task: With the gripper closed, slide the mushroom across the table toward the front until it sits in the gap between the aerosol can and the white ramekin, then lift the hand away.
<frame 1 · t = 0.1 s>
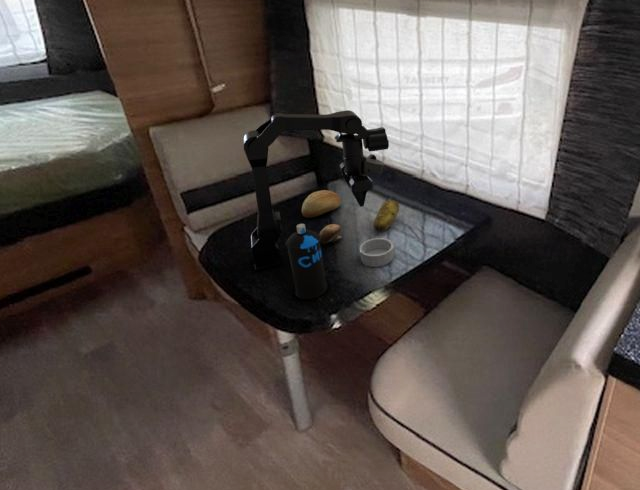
hand: (358, 200, 131), 15 cm above the table, tool pointing down, fingers open, 9 cm apart
aerosol can: (311, 290, 113), on the table
mushroom: (331, 241, 136), on the table
white ramekin: (377, 257, 128), on the table
potato: (386, 226, 146), on the table
bread roll: (323, 212, 154), on the table
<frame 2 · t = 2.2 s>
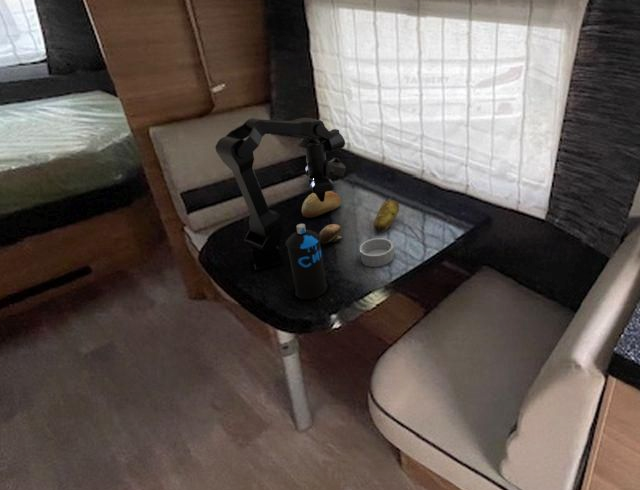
hand: (322, 201, 139), 11 cm above the table, tool pointing down, fingers closed
nothing on the table moved.
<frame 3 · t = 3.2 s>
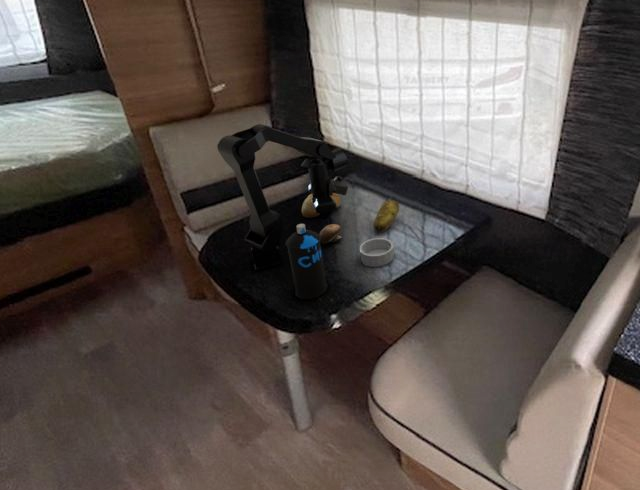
hand: (325, 219, 141), 4 cm above the table, tool pointing down, fingers closed
nothing on the table moved.
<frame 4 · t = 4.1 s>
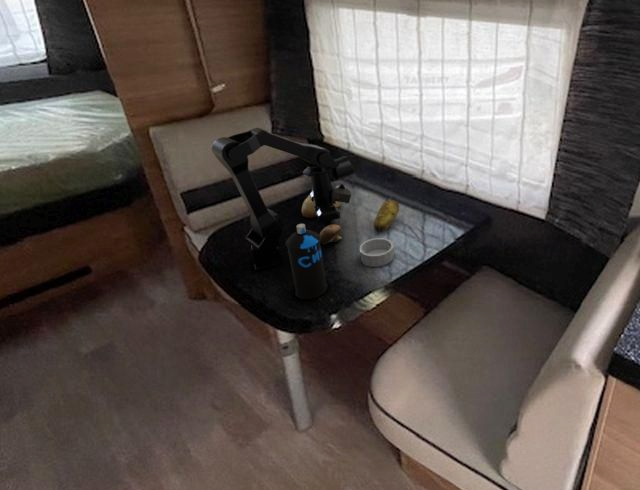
hand: (327, 227, 138), 3 cm above the table, tool pointing down, fingers closed
mushroom: (331, 242, 136), on the table, touching gripper
everything else where it was.
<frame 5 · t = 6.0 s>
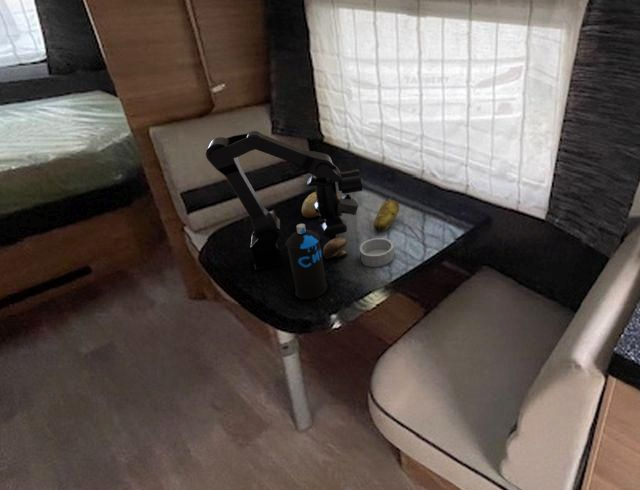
hand: (333, 240, 130), 3 cm above the table, tool pointing down, fingers closed
mushroom: (336, 256, 128), on the table, touching gripper
everything else where it was.
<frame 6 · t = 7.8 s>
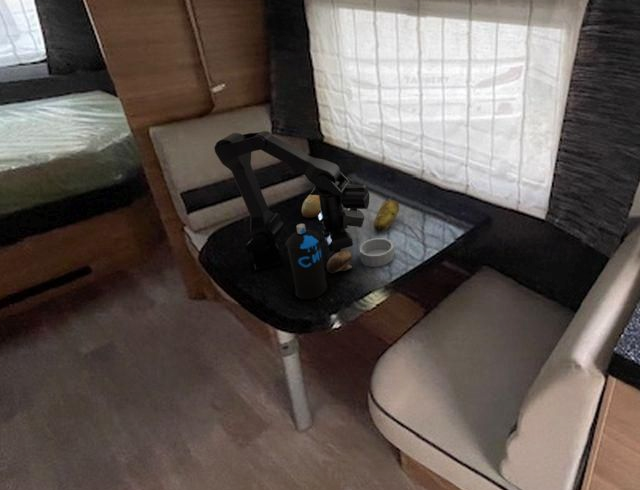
hand: (338, 253, 124), 3 cm above the table, tool pointing down, fingers closed
mushroom: (340, 270, 122), on the table, touching gripper
everything else where it was.
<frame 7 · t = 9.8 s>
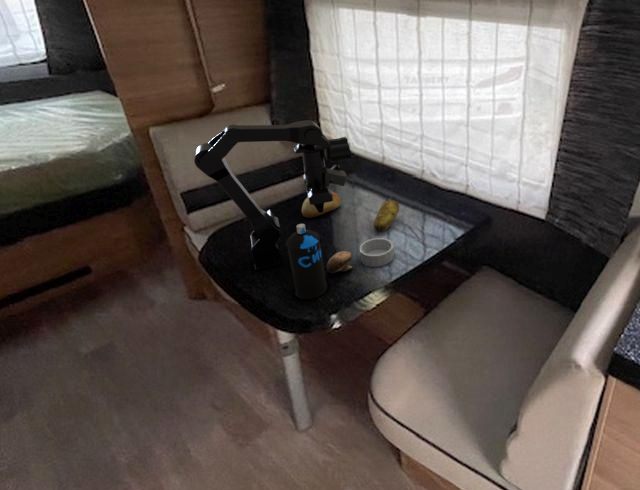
hand: (321, 212, 127), 13 cm above the table, tool pointing down, fingers closed
mushroom: (341, 270, 121), on the table
everything else where it was.
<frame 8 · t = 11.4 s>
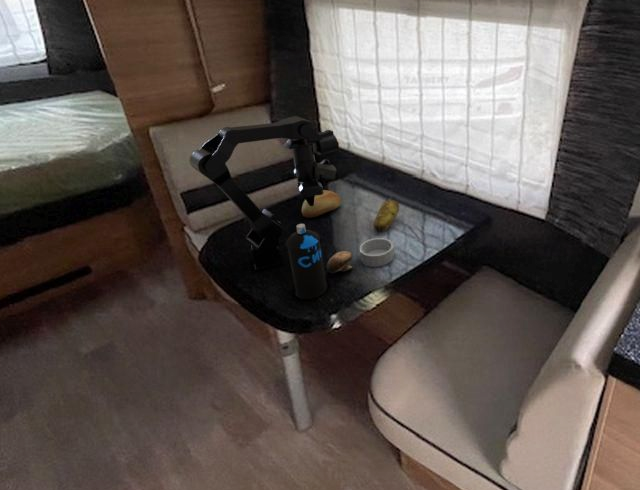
hand: (311, 205, 131), 13 cm above the table, tool pointing down, fingers closed
nothing on the table moved.
at the end: mushroom inside the target area (0.5 cm from its centre), on the table; aerosol can moved 0.2 cm from its start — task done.
